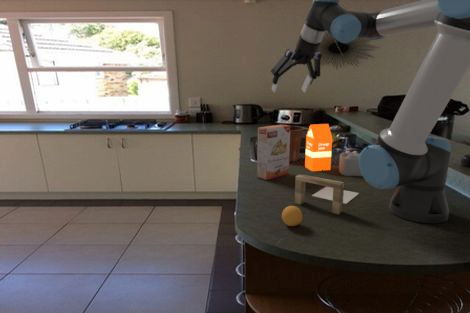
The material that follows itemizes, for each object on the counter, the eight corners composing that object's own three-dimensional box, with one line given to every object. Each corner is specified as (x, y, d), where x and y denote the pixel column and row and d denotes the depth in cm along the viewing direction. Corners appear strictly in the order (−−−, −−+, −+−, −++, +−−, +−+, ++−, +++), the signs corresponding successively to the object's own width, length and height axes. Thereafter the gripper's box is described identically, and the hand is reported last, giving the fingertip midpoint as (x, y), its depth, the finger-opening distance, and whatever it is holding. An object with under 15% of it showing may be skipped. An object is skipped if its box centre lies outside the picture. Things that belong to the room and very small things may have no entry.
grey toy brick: (341, 175, 131) (342, 155, 129) (336, 167, 144) (338, 148, 142) (367, 176, 129) (369, 155, 127) (360, 168, 142) (362, 149, 140)
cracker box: (267, 181, 125) (267, 128, 120) (256, 177, 130) (256, 127, 125) (289, 174, 134) (291, 125, 129) (279, 171, 139) (279, 123, 134)
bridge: (299, 200, 104) (300, 174, 102) (342, 211, 95) (344, 182, 93) (294, 203, 102) (295, 176, 100) (338, 214, 93) (340, 184, 91)
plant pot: (309, 159, 159) (310, 127, 155) (289, 164, 149) (289, 131, 145) (284, 154, 171) (285, 124, 167) (264, 159, 161) (264, 127, 157)
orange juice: (330, 169, 139) (333, 124, 135) (312, 171, 138) (314, 125, 133) (322, 165, 147) (324, 122, 142) (304, 166, 145) (306, 123, 140)
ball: (305, 224, 87) (306, 205, 86) (295, 231, 83) (296, 212, 81) (288, 219, 90) (288, 201, 89) (277, 226, 86) (278, 207, 85)
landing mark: (359, 193, 110) (359, 193, 110) (346, 204, 101) (346, 203, 101) (326, 187, 117) (326, 186, 117) (311, 196, 108) (311, 195, 108)
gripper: (333, 35, 114) (311, 85, 129) (274, 30, 105) (256, 84, 119) (345, 46, 110) (319, 96, 124) (283, 41, 100) (264, 96, 115)
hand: (288, 90), depth 122 cm, fingers open, 13 cm apart
